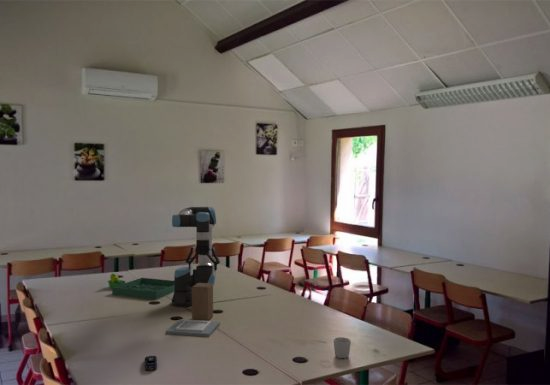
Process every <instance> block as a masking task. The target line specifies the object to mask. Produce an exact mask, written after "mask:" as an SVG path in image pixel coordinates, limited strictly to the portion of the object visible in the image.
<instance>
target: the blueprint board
mask: <svg viewBox="0 0 550 385" xmlns="http://www.w3.org/2000/svg"><path fill="white" fill-rule="evenodd" d="M220 326H221V322H220V321H210V320H208V321H200V320H192V319H178V320H177V321H175V322H174V323H173V324H172V325H171V326H170V327H168V328H167V329H166V330H165V334H167V335H178V336H179V335H181V336H183V335H184V336H196V337H211V335H212V334H213V333H214V332H215V331H216V330H217V329H218V328H219V327H220Z"/></svg>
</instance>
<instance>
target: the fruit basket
mask: <svg viewBox="0 0 550 385" xmlns="http://www.w3.org/2000/svg"><path fill="white" fill-rule="evenodd" d="M109 278H110V280H107V284H108V285H109V288H110V287H111V288H110V289H112V287H115V286H118V285H121V284H124V283H126V280H122V279H119V276H118V275H116V274H115V273H111V274H110V276H109Z"/></svg>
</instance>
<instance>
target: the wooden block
mask: <svg viewBox="0 0 550 385" xmlns="http://www.w3.org/2000/svg"><path fill="white" fill-rule="evenodd" d="M213 316H214V286H213V284H209V283H197V284H196V285H194V286H193V287H192V305H191V320H200V321H210V319H212V318H213Z"/></svg>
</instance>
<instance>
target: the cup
mask: <svg viewBox="0 0 550 385" xmlns="http://www.w3.org/2000/svg"><path fill="white" fill-rule="evenodd" d="M351 343H352V341H351V339H350V338H348V337H343V336H342V337H341V336H340V337H335V338H333V347H334V355H335V357H336V356H337V357H336V358H338V357H339V358H338V359H342V358H344V359H347V358H349V356H350V352H351ZM346 357H347V358H346Z"/></svg>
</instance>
